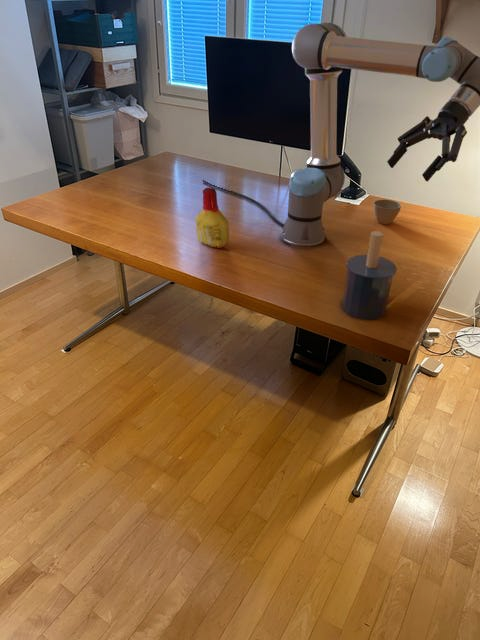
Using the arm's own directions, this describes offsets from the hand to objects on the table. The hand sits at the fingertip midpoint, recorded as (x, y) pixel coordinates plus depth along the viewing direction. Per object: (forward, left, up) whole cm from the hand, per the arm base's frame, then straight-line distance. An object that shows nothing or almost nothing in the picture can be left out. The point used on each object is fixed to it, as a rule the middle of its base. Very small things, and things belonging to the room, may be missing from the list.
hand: (406, 171), depth 134 cm
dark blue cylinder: (+6, -25, -31) cm, 40 cm away
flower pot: (-19, +35, -31) cm, 50 cm away
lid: (+6, -25, -18) cm, 32 cm away
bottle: (-53, -24, -31) cm, 66 cm away
